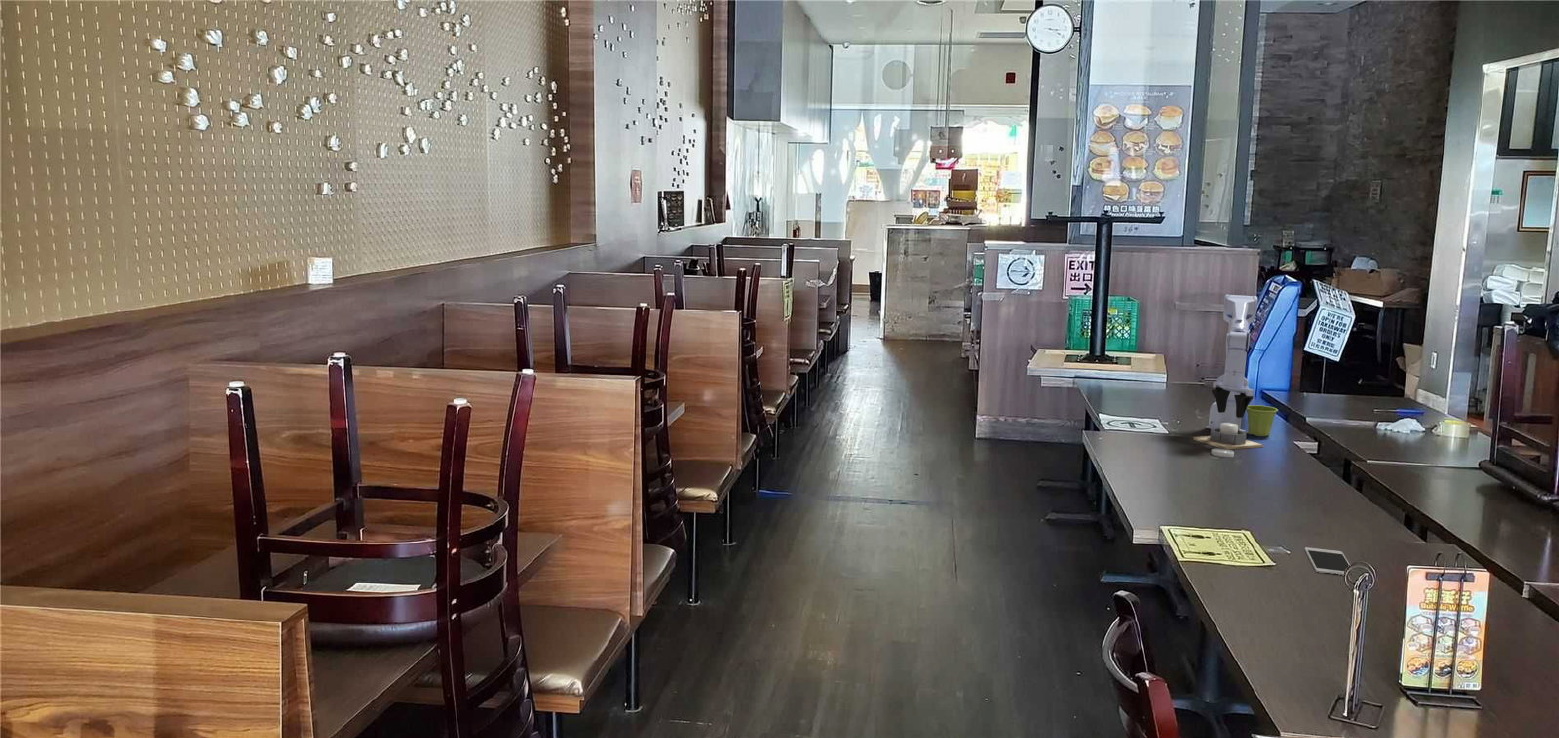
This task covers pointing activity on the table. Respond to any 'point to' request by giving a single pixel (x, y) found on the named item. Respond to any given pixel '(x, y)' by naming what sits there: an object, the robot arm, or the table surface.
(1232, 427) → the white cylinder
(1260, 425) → the plant pot
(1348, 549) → the table surface
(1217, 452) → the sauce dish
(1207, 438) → the mount plate
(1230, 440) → the lens ring
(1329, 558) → the smartphone
